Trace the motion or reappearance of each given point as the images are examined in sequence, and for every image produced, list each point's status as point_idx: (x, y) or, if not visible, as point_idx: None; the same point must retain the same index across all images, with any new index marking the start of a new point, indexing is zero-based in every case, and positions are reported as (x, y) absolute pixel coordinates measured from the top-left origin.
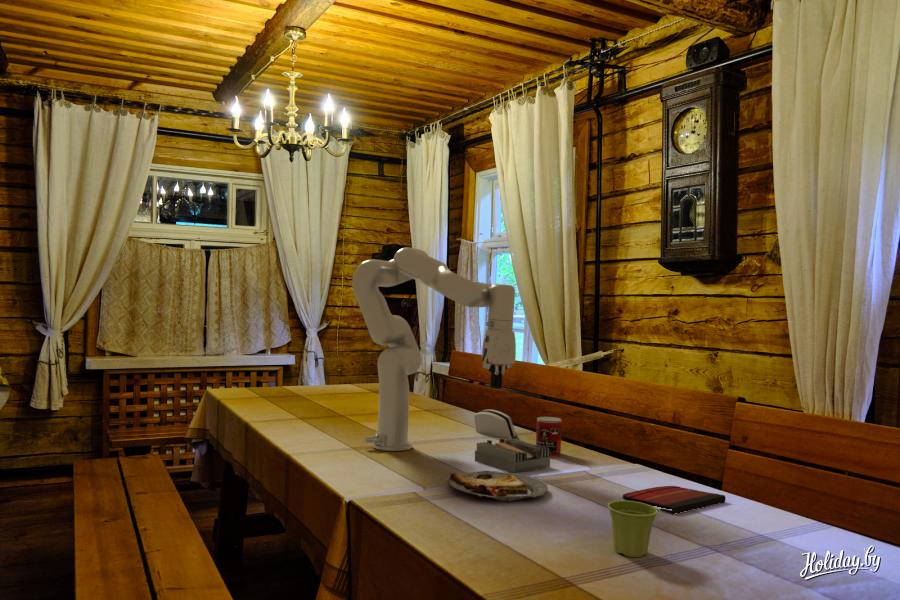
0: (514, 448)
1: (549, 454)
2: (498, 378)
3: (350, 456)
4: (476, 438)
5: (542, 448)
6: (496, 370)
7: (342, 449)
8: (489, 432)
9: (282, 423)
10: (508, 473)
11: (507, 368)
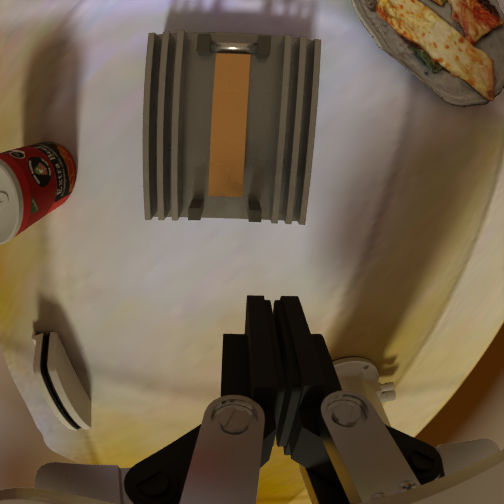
0: (220, 122)
1: (62, 147)
2: (314, 354)
3: (437, 352)
4: (120, 372)
5: (167, 42)
6: (369, 435)
7: (406, 390)
8: (77, 380)
9: None
10: (371, 25)
11: (113, 466)
